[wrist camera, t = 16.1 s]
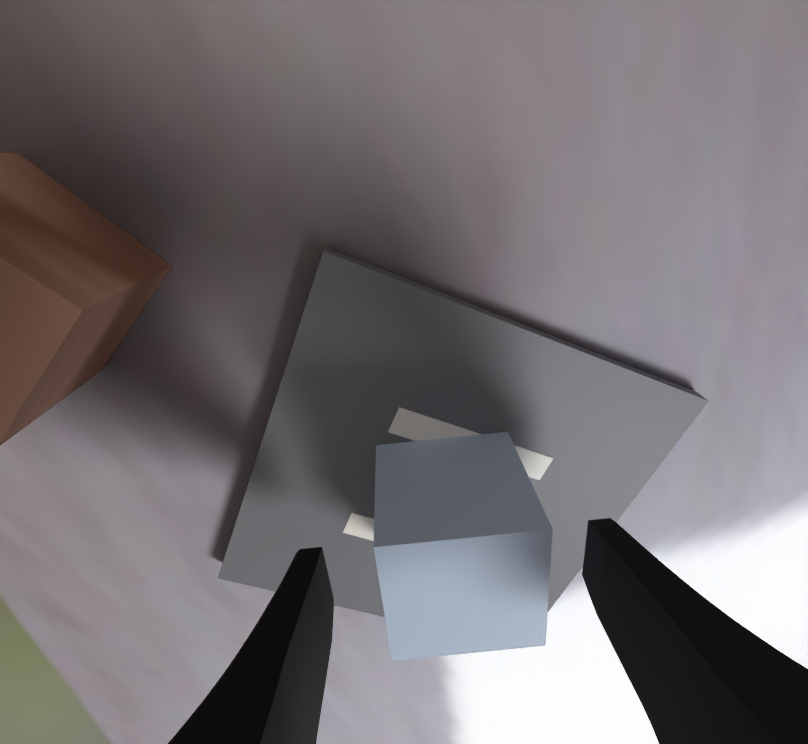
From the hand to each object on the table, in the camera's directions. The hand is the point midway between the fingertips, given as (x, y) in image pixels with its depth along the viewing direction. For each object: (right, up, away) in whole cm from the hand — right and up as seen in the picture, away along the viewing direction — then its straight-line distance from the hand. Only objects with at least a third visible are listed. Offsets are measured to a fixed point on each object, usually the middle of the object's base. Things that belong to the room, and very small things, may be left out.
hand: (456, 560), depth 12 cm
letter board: (0, +1, +3) cm, 3 cm away
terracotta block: (-10, +8, 0) cm, 13 cm away
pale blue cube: (0, +1, +2) cm, 3 cm away
